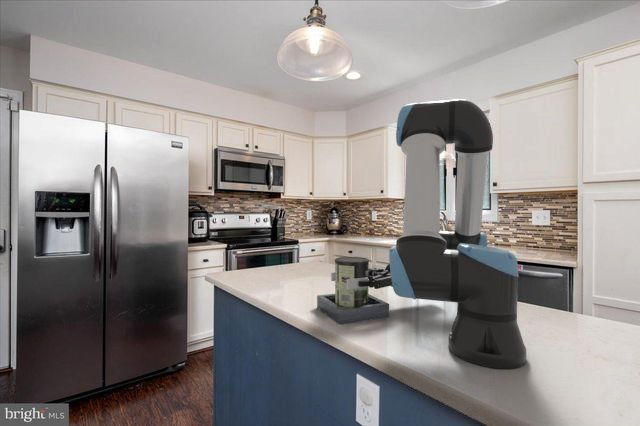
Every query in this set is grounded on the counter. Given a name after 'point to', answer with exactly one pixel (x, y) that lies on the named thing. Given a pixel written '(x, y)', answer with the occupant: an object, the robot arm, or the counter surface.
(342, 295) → the coffee can
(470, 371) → the counter surface
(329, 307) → the tray
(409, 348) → the counter surface
